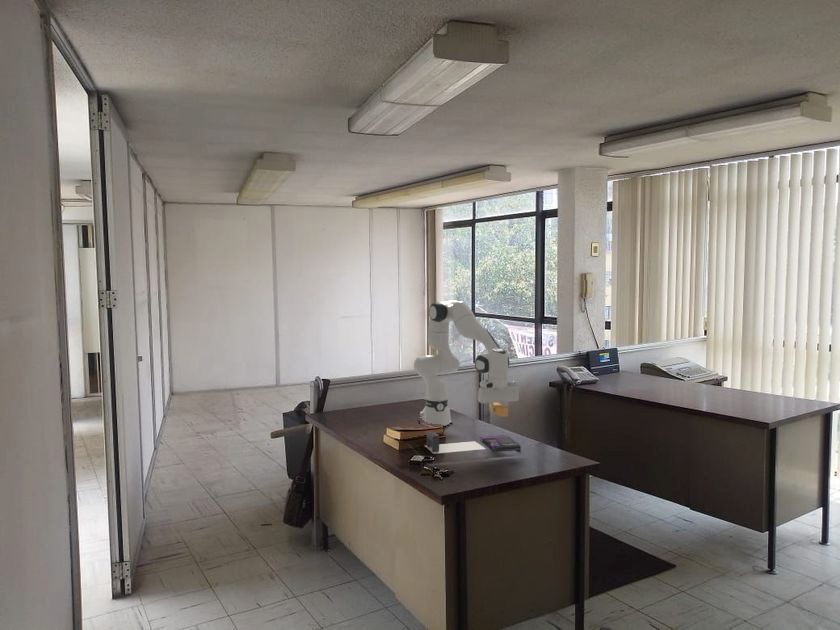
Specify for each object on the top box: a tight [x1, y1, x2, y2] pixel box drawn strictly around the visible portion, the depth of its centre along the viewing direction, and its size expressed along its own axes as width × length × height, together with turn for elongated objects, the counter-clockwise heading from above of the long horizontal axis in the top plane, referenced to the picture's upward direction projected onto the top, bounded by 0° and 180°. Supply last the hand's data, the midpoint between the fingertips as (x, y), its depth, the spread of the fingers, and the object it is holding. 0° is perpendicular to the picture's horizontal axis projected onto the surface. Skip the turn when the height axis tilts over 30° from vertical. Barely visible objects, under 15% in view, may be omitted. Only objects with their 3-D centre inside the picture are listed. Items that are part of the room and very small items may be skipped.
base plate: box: [424, 440, 486, 454], centre depth 291 cm, size 14×26×1 cm, turn 107°
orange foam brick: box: [488, 402, 509, 418], centre depth 294 cm, size 4×14×4 cm, turn 16°
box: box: [480, 434, 522, 452], centre depth 296 cm, size 14×4×20 cm
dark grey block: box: [426, 430, 440, 452], centre depth 288 cm, size 10×3×7 cm, turn 17°
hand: (498, 411), depth 294 cm, fingers closed on orange foam brick, 4 cm apart
